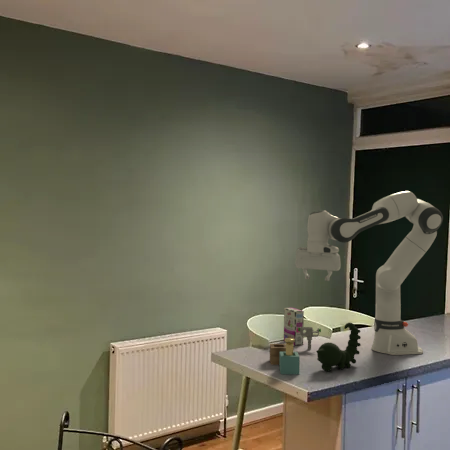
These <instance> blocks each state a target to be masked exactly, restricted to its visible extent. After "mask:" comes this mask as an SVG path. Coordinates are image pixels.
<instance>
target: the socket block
mask: <svg viewBox="0 0 450 450" xmlns="http://www.w3.org/2000/svg"><path fill="white" fill-rule="evenodd" d="M300 357H301V356H300V354H299V353H298V351H293V356H286V352H279V365H278V366H279V368H278V369H279V372H280V374H281V375H300V362H301V361H300Z"/></svg>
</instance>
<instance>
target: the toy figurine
mask: <svg viewBox="0 0 450 450" xmlns="http://www.w3.org/2000/svg"><path fill="white" fill-rule="evenodd" d="M355 325H356V324H354V323H352V322H347V323H346V324H345V325H344V330H347V329H350V332H349V335H348V337H349V339H348V341H347V345H346V347H345V349H344V350H343V349H341V348H340V347H339V346H338V345H337V344H336V343H333V342H330V341H329V342H324V343H322V344H321V345H320V346H319V347H318V349H317V350H316V351H315V352H316V353H317V361H318V362H320V363H321V370H323V371H324V372H331V370H332V367H338V368H339V369H341V370H342V369H345V368H351V366H352V365H351V364H356V363H357V359H355V355H360V351H359V350H358V347H361V346H362V345H361V343H360V342H358V340H360V339H361V335H359V334H360V333H361V331H362V330H361V329H359V328H358V327H357V326H355Z"/></svg>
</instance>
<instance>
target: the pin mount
mask: <svg viewBox="0 0 450 450" xmlns="http://www.w3.org/2000/svg"><path fill="white" fill-rule="evenodd" d="M279 352H286V343H269V362H270V365H272V366H273V365H275V366H276V365H278V366H279Z"/></svg>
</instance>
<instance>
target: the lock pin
mask: <svg viewBox="0 0 450 450" xmlns="http://www.w3.org/2000/svg"><path fill="white" fill-rule="evenodd" d="M293 342H295V339H294V338H285V341H284V343H285V344H286V356H293V352H294V345H293Z"/></svg>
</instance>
